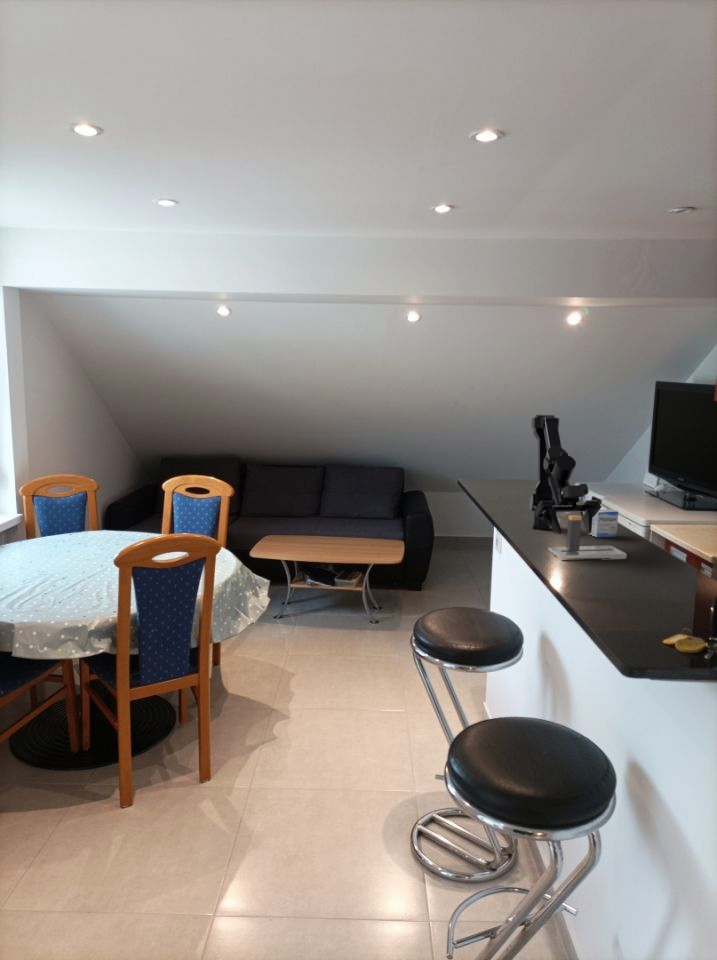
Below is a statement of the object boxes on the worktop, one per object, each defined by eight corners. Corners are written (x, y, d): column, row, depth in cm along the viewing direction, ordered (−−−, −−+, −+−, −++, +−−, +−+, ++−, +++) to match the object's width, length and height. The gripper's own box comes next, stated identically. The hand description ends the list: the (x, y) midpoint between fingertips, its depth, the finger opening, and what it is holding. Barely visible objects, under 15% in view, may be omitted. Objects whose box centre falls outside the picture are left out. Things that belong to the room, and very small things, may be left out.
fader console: (561, 560, 187) (561, 555, 187) (548, 551, 196) (548, 546, 196) (626, 558, 190) (626, 553, 189) (610, 550, 198) (611, 545, 198)
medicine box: (596, 538, 212) (598, 512, 211) (587, 535, 216) (589, 509, 215) (616, 537, 214) (618, 511, 213) (608, 533, 218) (610, 508, 217)
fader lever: (569, 550, 191) (571, 517, 189) (566, 548, 193) (568, 515, 191) (579, 550, 191) (581, 516, 189) (575, 548, 193) (578, 515, 191)
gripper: (541, 474, 191) (554, 519, 182) (600, 473, 194) (616, 518, 185) (529, 495, 200) (541, 539, 191) (586, 494, 203) (601, 537, 194)
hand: (575, 533), depth 190 cm, fingers open, 9 cm apart
